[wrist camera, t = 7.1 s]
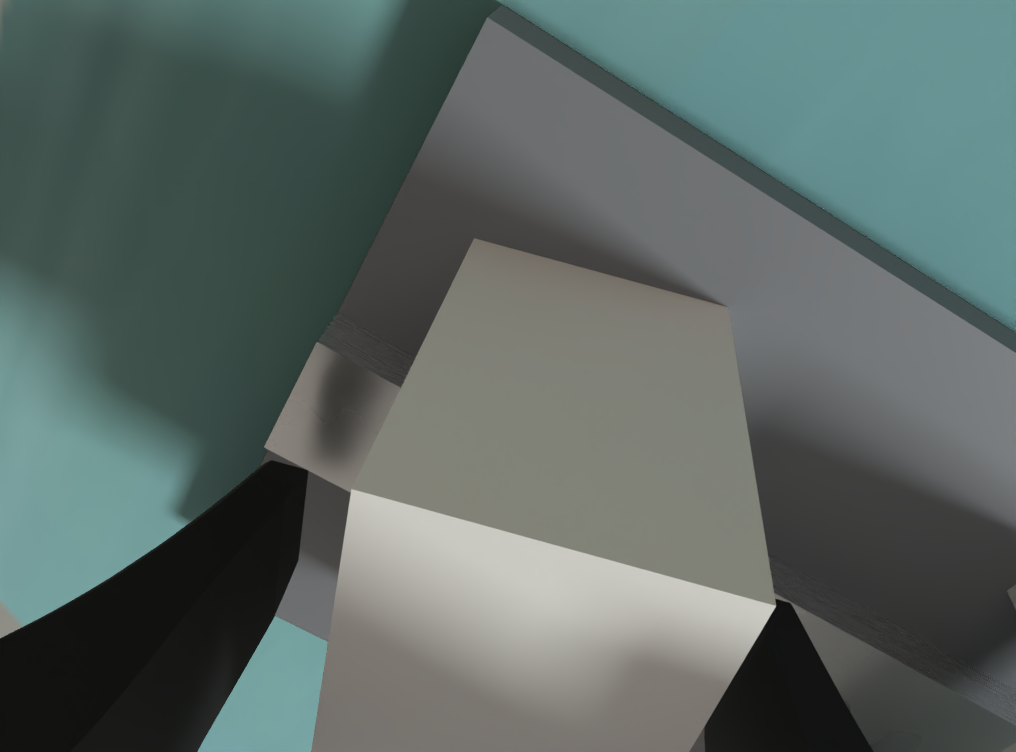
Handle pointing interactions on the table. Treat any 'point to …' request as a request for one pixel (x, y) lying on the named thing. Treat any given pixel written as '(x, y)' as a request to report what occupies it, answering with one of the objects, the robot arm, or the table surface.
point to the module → (550, 526)
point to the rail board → (761, 365)
